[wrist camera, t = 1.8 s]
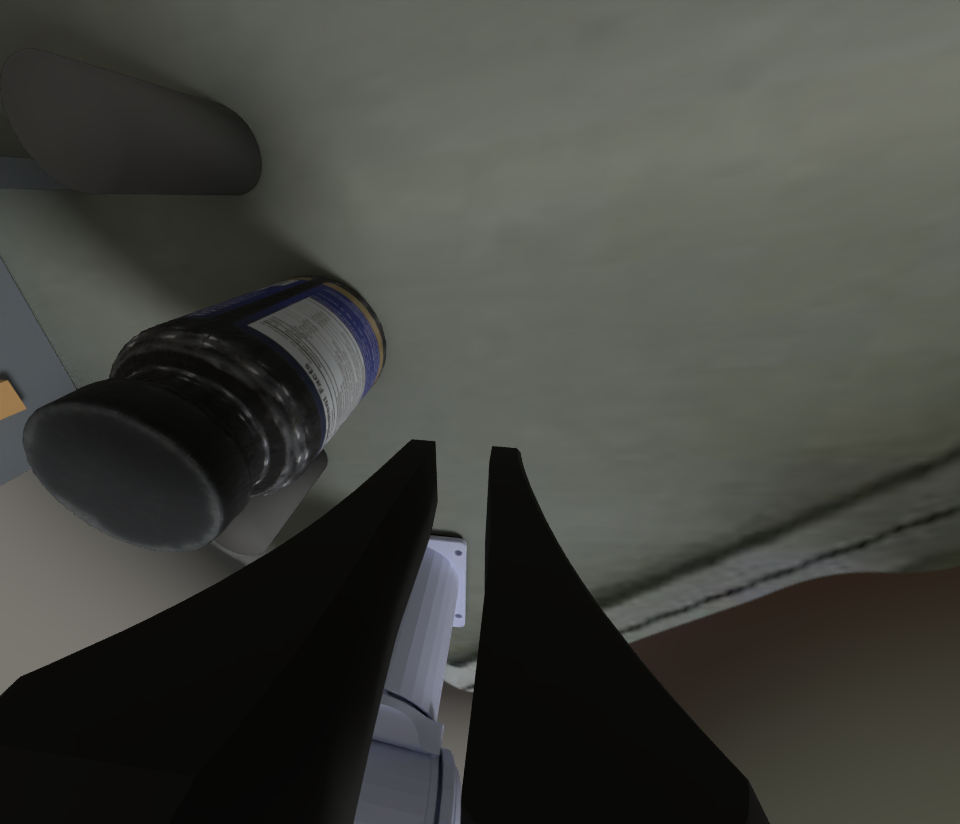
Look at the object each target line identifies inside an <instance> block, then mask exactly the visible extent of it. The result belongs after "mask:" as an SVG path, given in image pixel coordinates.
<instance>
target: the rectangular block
mask: <svg viewBox="0 0 960 824" xmlns="http://www.w3.org/2000/svg"><path fill="white" fill-rule="evenodd" d="M0 188H20V189H71V188H69V187H67V186H65V185H63V184H62V183H60V182H59V181H57V180H56V179H54V178H53V177H52V176H50V175H49V174H48V173H47V172H46V171H45V170H44V169H42V168H41V167H40V166H39V165H38V164H37V162H36V161H35V160H34V159H29V158H16V157H3V156H0ZM75 390H76V388H75V386H74V384H73V383H72V381H71V379H70V377H69V376H68V374H67V372H66V370H65V369H64V367H63V365H62V363H61V362H60V360H59V358H58V357H57V355H56V353H55V351H54V350H53V348H52V346H51V344H50V343H49V341H48V339H47V337H46V336H45V334H44V332H43V330H42V329H41V327H40V325H39V324H38V322H37V320H36V318H35V317H34V315H33V313H32V311H31V310H30V308H29V306H28V304H27V303H26V301H25V299H24V297H23V296H22V294H21V292H20V291H19V289H18V287H17V285H16V284H15V282H14V280H13V278H12V277H11V275H10V273H9V271H8V270H7V268H6V266H5V264H4V263H3V261H2V259H1V258H0V485H3V484H4V483H6V482H8V481H10V480H12V479H13V478H15V477H17V476H19V475H21V474H23V473H24V472H26V471H28V470H30V469H32V467H31V466H30V465H29V463H28V461H27V457H26V453H25V451H24V447H23V442H22V439H23V430H24V427H25V424H26V422H27V420H28V418H29V417H30V416H31V415H32V414H33V413H34V411H35V410H36V409H38V408H40V407H42V406H44V405H46V404H48V403H50V402H52V401H55V400H57V399H59V398H61V397H63V396H65V395H67V394H69V393H71V392H73V391H75Z"/></svg>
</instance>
